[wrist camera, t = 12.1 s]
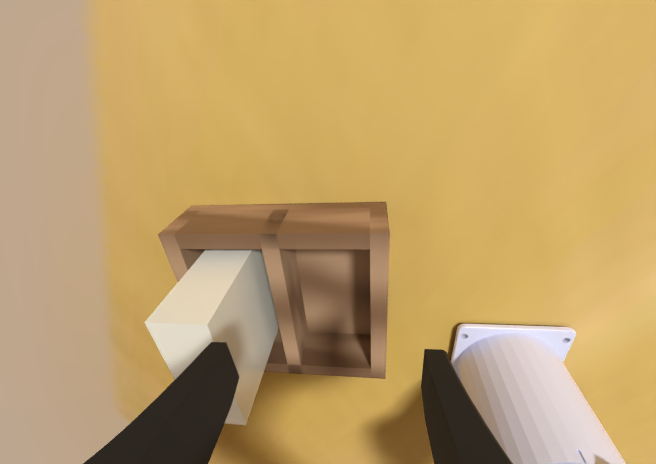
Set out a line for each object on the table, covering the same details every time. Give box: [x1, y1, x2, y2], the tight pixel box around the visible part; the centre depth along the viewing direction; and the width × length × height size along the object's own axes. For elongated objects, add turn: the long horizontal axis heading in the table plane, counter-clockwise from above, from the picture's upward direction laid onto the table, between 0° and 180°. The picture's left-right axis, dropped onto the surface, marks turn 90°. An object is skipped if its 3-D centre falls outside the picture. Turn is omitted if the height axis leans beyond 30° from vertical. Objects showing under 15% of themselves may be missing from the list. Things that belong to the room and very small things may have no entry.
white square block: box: [145, 249, 279, 425], centre depth 19 cm, size 8×3×8 cm, turn 4°
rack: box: [158, 202, 390, 379], centre depth 21 cm, size 12×13×4 cm
